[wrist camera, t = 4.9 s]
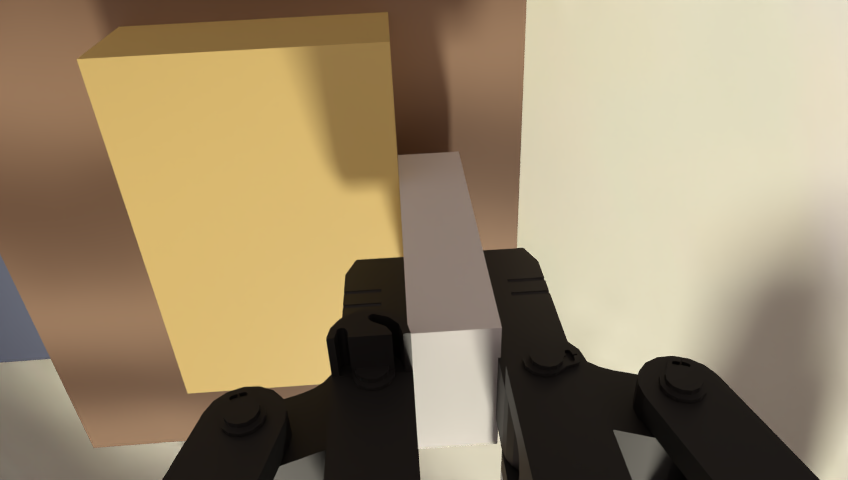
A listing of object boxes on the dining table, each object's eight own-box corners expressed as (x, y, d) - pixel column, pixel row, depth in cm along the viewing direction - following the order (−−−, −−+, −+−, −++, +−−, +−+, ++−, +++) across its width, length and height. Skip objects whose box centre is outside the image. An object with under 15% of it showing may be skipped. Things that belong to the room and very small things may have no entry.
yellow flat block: (408, 320, 19) (411, 377, 17) (207, 334, 19) (187, 393, 17) (388, 11, 15) (389, 41, 13) (118, 26, 14) (76, 59, 12)
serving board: (492, 336, 25) (509, 415, 22) (132, 364, 25) (93, 447, 22) (501, -230, 16) (536, -245, 12) (-89, -199, 15) (-223, -207, 12)
